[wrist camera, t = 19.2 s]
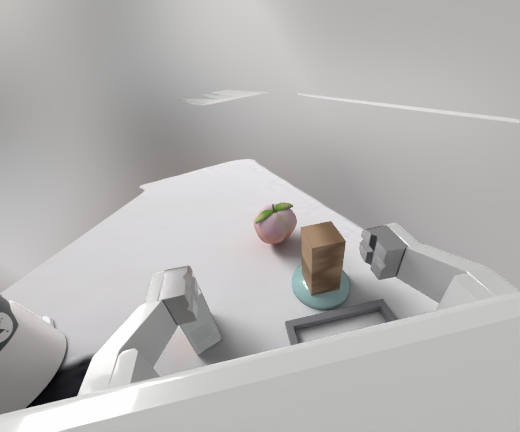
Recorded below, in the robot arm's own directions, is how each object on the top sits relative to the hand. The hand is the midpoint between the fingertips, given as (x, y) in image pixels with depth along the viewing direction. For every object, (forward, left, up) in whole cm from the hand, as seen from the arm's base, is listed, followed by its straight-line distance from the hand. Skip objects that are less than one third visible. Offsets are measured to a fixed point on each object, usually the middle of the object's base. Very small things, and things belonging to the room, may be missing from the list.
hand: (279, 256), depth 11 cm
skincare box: (-11, +14, -28) cm, 33 cm away
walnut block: (+10, +18, -27) cm, 34 cm away
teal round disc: (+10, +18, -28) cm, 34 cm away
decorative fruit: (+5, +32, -28) cm, 43 cm away
